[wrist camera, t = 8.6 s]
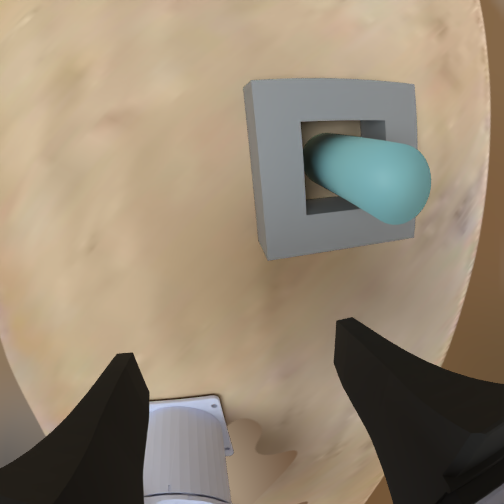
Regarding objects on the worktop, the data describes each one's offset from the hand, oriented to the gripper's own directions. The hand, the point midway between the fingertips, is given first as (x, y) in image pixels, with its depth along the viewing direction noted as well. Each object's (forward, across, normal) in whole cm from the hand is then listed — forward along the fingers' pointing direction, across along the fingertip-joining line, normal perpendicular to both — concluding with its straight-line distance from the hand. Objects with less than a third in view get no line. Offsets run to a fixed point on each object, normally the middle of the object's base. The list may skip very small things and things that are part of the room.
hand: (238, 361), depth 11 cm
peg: (+10, -7, -5) cm, 13 cm away
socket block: (+10, -7, -5) cm, 13 cm away
